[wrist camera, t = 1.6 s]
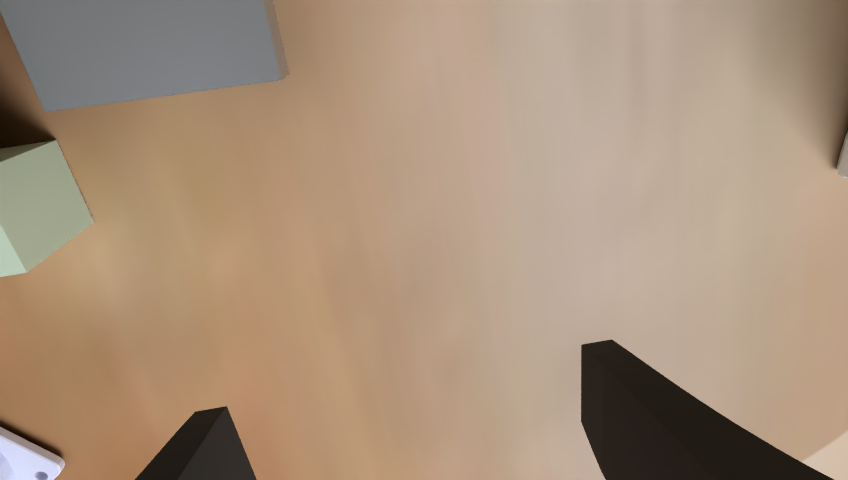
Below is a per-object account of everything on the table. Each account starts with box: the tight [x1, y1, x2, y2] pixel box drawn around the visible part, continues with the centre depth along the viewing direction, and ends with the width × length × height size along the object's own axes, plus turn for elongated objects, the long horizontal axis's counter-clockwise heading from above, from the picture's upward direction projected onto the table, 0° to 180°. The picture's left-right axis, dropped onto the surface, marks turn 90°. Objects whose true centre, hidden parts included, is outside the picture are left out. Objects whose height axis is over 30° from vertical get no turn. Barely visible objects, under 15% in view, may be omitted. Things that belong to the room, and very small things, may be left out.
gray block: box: [0, 0, 289, 112], centre depth 14 cm, size 7×5×2 cm
